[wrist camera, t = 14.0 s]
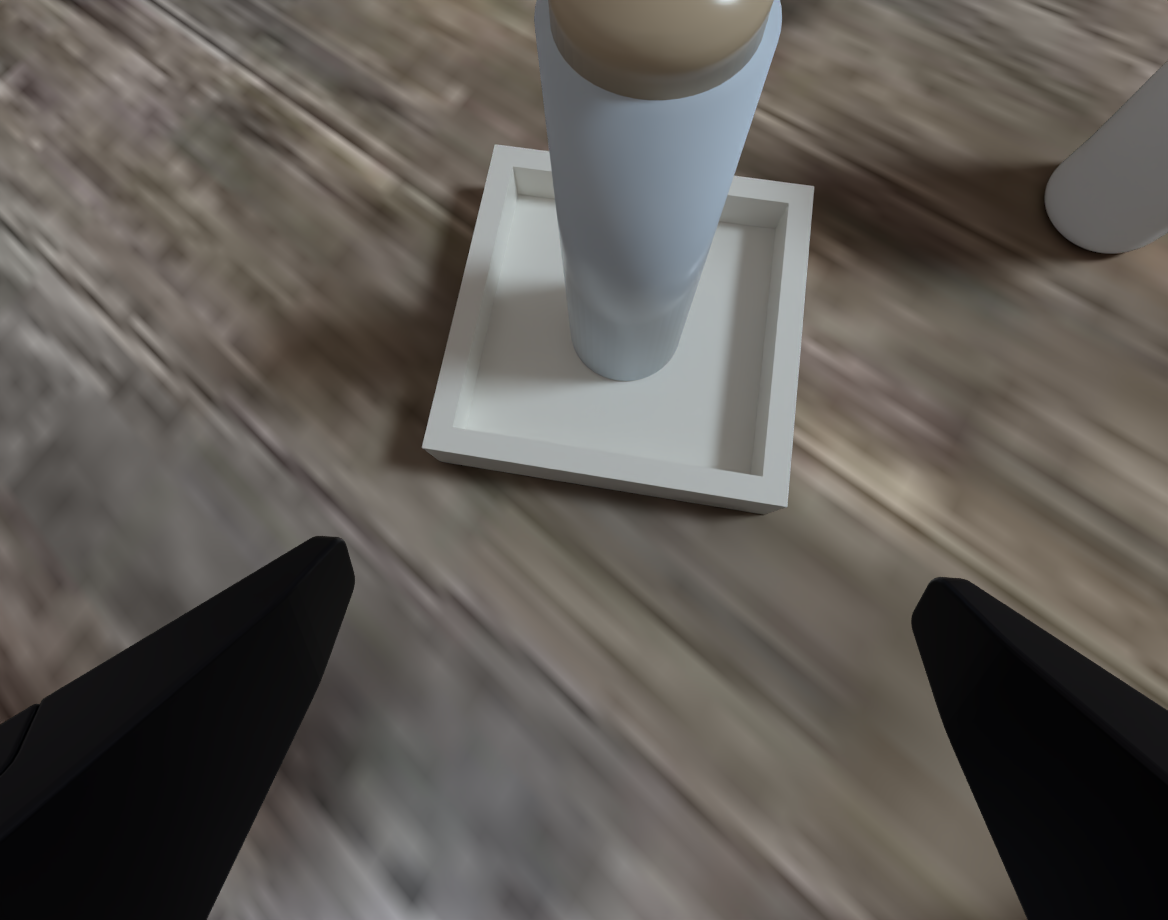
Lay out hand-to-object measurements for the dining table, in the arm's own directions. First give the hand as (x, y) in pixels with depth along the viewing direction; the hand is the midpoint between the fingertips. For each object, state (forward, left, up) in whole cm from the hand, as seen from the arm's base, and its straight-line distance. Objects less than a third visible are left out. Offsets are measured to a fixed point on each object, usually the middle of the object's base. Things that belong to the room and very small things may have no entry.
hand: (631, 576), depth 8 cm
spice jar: (+10, +1, -13) cm, 17 cm away
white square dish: (+11, +1, -14) cm, 17 cm away
